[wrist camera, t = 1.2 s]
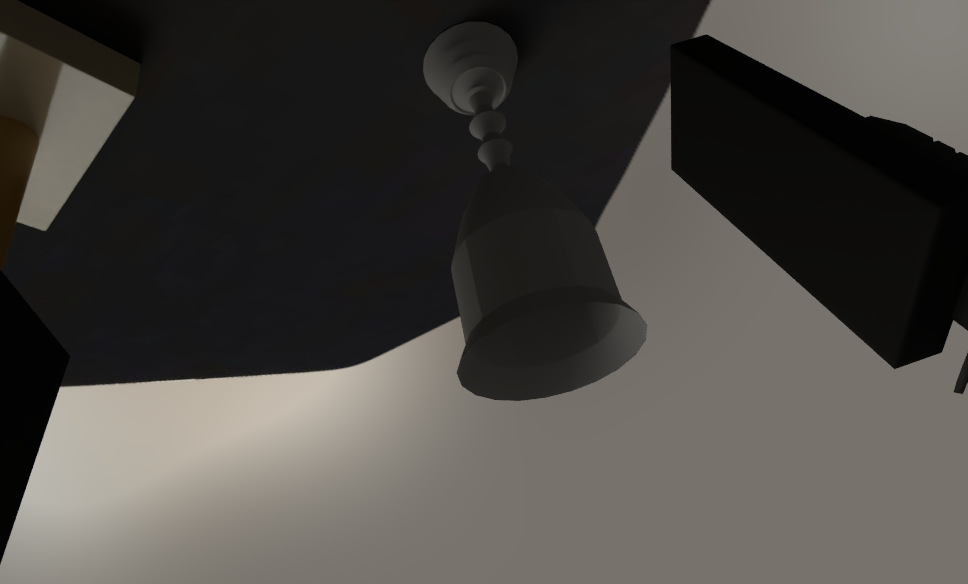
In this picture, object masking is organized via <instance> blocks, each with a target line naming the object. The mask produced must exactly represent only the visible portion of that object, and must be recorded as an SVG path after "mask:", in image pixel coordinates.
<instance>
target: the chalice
mask: <svg viewBox="0 0 968 584" xmlns="http://www.w3.org/2000/svg"><path fill="white" fill-rule="evenodd" d="M517 62H518V55H517V49H516V45H515V44H514V42H513V40H512V38H511V37H510V35H509V34H507V33H506V32H505V31H504V30H502V29H501V28H500V27H498V26H495V25H492V24H490V23H487V22H466V23H462V24H459V25H455V26H453V27H451V28H449V29H448V30H446V31H444V32H443V33H441V34H440V35H439V36H438V37H437V38H436V39H435V40H434V41H433V42H432V44H431V45H430V46H429V49H428V51H427V53H426V55H425V57H424V66H423V73H424V76H425V80H426V83H427V84H428V86H429V87H430V88H431V90H432V91H433V92H434V93H435V94H436V95H438V96H439V97H440V98H441V100H442V101H444V102H445V103H446V104H447V105H448V106H449V107H450V108H452V109H453V110H455V111H456V112H459V113H463V114H466V115H475V116H474V119H473V120H472V121H471V123H470V127H469V129H470V133H471V134H472V135H473V136H474V137H476V138H478V139H481V140H482V146H481V147H480V149H479V151H478V157H479V159H480V160H481V161H482V162H483V163H485V164H486V165H487V167H488V168H489V170H490V172H488V173H487V174H486V175H484V176H483V177H482V178H481V179H480V180H479V181H478V183H477V184H476V186H475V188H474V191H473V193H472V196H471V198H470V201H469V203H468V206H467V208H466V211H465V213H464V216H463V218H462V221H461V224H460V229H459V233H458V238H457V243H456V247H455V252H454V257H453V262H452V266H451V271H452V277H453V282H454V287H455V292H456V297H457V302H458V307H459V312H460V317H461V322H462V328H463V332H464V338H465V343H466V346H465V349H464V351H463V354H462V357H461V360H460V364H459V367H458V370H457V374H458V377H459V380H460V382H461V385H462V386H463V387H465V388H466V389H467V390H469V391H470V392H472V393H474V394H475V395H478V396H482V397H486V398H490V399H494V400H514V401H521V400H530V399H538V398H545V397H550V396H553V395H558V394H562V393H565V392H569V391H573V390H575V389H578V388H581V387H583V386H586V385H588V384H591V383H593V382H596V381H598V380H600V379H601V378H603V377H605V376H607V375H609V374H610V373H612V372H614V371H616V370H618V369H619V368H620V367H621V366H623V365H624V364H625V363H626V362H628V361H629V360H630V359H631V358H632V357H633V356H635V355H636V353H637V352H638V350H639V349H640V347H641V346H642V345H643V343H644V342H645V340H646V330H647V324H646V323H645V322H644V320H643V319H642V317H641V316H640V315H639V313H638V312H637V311H635V310H634V309H633V308H631V307H630V306H629V305H628V304H627V303H625V302H624V301H623V300H622V299H621V296H620V294H619V291H618V288H617V286H616V283H615V280H614V278H613V275H612V273H611V270H610V267H609V264H608V261H607V259H606V256H605V253H604V251H603V248H602V245H601V243H600V240H599V237H598V234H597V232H596V230H595V228H594V227H593V225H592V224H591V223H590V221H589V220H588V218H587V217H586V216H585V215H584V214H583V213H582V212H581V211H580V210H579V209H578V208H577V207H576V206H575V205H574V204H573V203H572V202H571V201H570V200H569V199H568V198H567V197H566V196H565V195H564V194H563V193H561V192H560V191H558V190H557V189H556V188H554V187H553V186H551V185H550V184H549V183H547V182H546V181H544V180H543V179H542V178H540V177H539V176H538V175H536V174H535V173H533V172H532V171H530V170H529V169H527V168H525V167H521V166H516V165H515V166H509V156H510V154H511V152H512V145H511V144H510V142H508V141H507V140H505V139H503V138H502V137H501V132H502V131H503V130H504V128H505V125H506V120H505V117H504V116H503V115H502V114H501V113H499V112H496V111H494V109H495V108H496V107H497V106H499V105H500V104H501V103H502V102H503V101H504V100H505V99H506V97H507V95H508V94H509V92H510V89H511V84H512V82H513V77H514V73H515V71H516V66H517Z"/></svg>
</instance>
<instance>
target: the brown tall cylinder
mask: <svg viewBox="0 0 968 584" xmlns="http://www.w3.org/2000/svg"><path fill="white" fill-rule="evenodd" d="M38 147H39V141H38V138H37V136H36V134H35V133H34V132H33V131H32V130H31V129H30V128H29V127H28V126H26V125H25V124H23V123H22V122H20V121H18V120H16V119H13V118H10V117H7V116H2V115H0V270H1V271H2V269H3V265H4V262H5V259H6V255H7V252H8V249H9V245H10V242H11V238H12V235H13V232H14V228H15V225H16V221H17V218H18V215H19V211H20V208H21V205H22V201H23V198H24V194H25V191H26V188H27V184H28V181H29V177H30V174H31V171H32V167H33V164H34V161H35V157H36V154H37V150H38Z"/></svg>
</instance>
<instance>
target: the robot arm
mask: <svg viewBox="0 0 968 584" xmlns="http://www.w3.org/2000/svg"><path fill="white" fill-rule="evenodd" d="M671 159H672V160H671V168H672V170H673V171H674V172H675V173H676V174H678V175H679V176H680V177H681V178H682V179H683V180H684V181H685V182H686V183H687V184H689V185H690V186H691V187H692V188H693V189H694V190H695V191H696V192H697V193H699V194H700V195H701V196H702V197H703V198H704V199H705V200H706V201H708V202H709V203H710V204H711V205H712V206H713V207H714V208H716V209H717V210H718V211H719V212H720V213H721V214H722V215H723V216H724V217H725V218H727V219H728V220H729V221H730V222H731V223H732V224H733V225H734V226H736V227H737V228H738V229H739V230H740V231H741V232H742V233H743V234H744V235H745V236H747V237H748V238H749V239H750V240H751V241H752V242H753V243H754V244H756V245H757V246H758V247H759V248H760V249H761V250H762V251H763V252H765V253H766V254H767V255H768V256H769V257H770V258H771V259H772V260H773V261H775V262H776V263H777V264H778V265H779V266H780V267H781V268H782V269H783V270H785V271H786V272H787V273H788V274H789V275H790V276H791V277H792V278H793V279H795V280H796V281H797V282H798V283H799V284H800V285H801V286H802V287H804V288H805V289H806V290H807V291H808V292H809V293H810V294H811V295H812V296H814V297H815V298H816V299H817V300H818V301H819V302H820V303H821V304H823V305H824V306H825V307H826V308H827V309H828V310H829V311H831V313H833V314H834V315H835V316H836V317H837V318H838V319H839V320H840V321H841V322H843V323H844V324H845V325H846V326H847V327H848V328H849V329H850V330H852V331H853V332H854V333H855V334H856V335H857V336H858V337H859V338H861V339H862V340H863V341H864V342H865V343H866V344H867V345H868V346H870V347H871V348H872V349H873V350H874V351H875V352H876V353H877V354H878V355H879V356H881V357H882V358H883V359H884V360H885V361H886V362H887V363H888V364H890V365H891V366H892V367H893V368H894V369H896V368H899V367H902V366H905V365H908V364H910V363H913V362H916V361H919V360H921V359H925V358H927V357H930V356H933V355H936V354H938V353H941V352H942V350H943V348H944V345H945V342H946V339H947V336H948V333H949V330H950V328H951V325H952V322H953V320H954V321H956V322H957V323H958V324H960V325H961V326H963V327H964V328H965V329H966V330H968V155H966V154H964V153H962V152H959V153H956V152H955V149H954V148H952V147H950V146H948V145H946V144H944V143H942V142H940V141H935V142H934V141H933V138H932V137H930V136H928V135H926V134H924V133H922V132H920V131H918V130H916V129H914V128H912V127H910V126H908V125H906V124H902V123H898V122H894V121H890V120H886V119H882V118H878V117H873V116H869V117H866V118H865V117H863V116H861V115H859V114H857V113H855V112H853V111H852V110H850V109H848V108H846V107H844V106H842V105H840V104H838V103H836V102H834V101H832V100H831V99H829V98H827V97H825V96H823V95H821V94H819V93H817V92H815V91H813V90H811V89H809V88H808V87H806V86H803V85H802V84H800V83H798V82H796V81H794V80H792V79H791V78H789V77H787V76H785V75H783V74H781V73H779V72H777V71H775V70H773V69H772V68H770V67H768V66H766V65H764V64H762V63H760V62H758V61H756V60H754V59H752V58H750V57H749V56H747V55H745V54H743V53H741V52H739V51H737V50H735V49H733V48H732V47H730V46H728V45H725V44H724V43H722V42H720V41H718V40H716V39H714V38H713V37H711V36H709V35H703V36H700V37H696V38H693V39H689V40H686V41H682V42H679V43H675V44H672V45H671ZM69 358H70V355H69V354H68V353H67V352H66V351H65V349H64V348H63V347H62V346H61V344H60V343H59V342H58V341H57V339H56V338H55V337H54V336H53V334H52V333H51V332H50V331H49V329H48V328H47V327H46V326H45V324H44V323H43V322H42V321H41V320H40V318H39V317H38V316H37V315H36V313H35V312H34V311H33V310H32V308H31V307H30V306H29V305H28V303H27V302H26V301H25V300H24V298H23V297H22V296H21V295H20V293H19V292H18V291H17V290H16V289H15V287H14V286H13V285H12V284H11V282H10V281H9V280H8V279H7V277H6V276H5V275H4V274H3V272H2V271H1V270H0V564H1V560H2V558H3V555H4V551H5V549H6V546H7V542H8V540H9V537H10V534H11V531H12V528H13V525H14V522H15V519H16V516H17V513H18V510H19V507H20V504H21V501H22V498H23V495H24V492H25V489H26V486H27V483H28V480H29V477H30V474H31V471H32V468H33V465H34V462H35V459H36V456H37V454H38V451H39V448H40V445H41V441H42V438H43V436H44V432H45V430H46V427H47V424H48V421H49V418H50V415H51V412H52V409H53V406H54V403H55V400H56V397H57V393H58V391H59V388H60V385H61V382H62V379H63V376H64V373H65V370H66V367H67V364H68V361H69ZM967 383H968V353H967V356H966V359H965V361H964V364H963V366H962V369H961V372H960V374H959V377H958V379H957V382H956V386H955V389H954V392H955V393H961V394H963V392H964V390H965V387H966V385H967Z"/></svg>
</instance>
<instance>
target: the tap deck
mask: <svg viewBox="0 0 968 584" xmlns="http://www.w3.org/2000/svg"><path fill="white" fill-rule="evenodd" d="M140 69H141V64H140V63H138V62H136V61H134V60H132V59H130V58H128V57H126V56H124V55H122V54H121V53H119V52H117V51H115V50H113V49H111V48H109V47H107V46H105V45H103V44H101V43H99V42H97V41H95V40H94V39H92V38H90V37H88V36H86V35H84V34H82V33H80V32H78V31H76V30H74V29H72V28H70V27H68V26H67V25H65V24H63V23H61V22H59V21H57V20H55V19H53V18H51V17H49V16H47V15H45V14H43V13H41V12H40V11H38V10H36V9H34V8H32V7H30V6H28V5H26V4H24V3H22V2H20V1H18V0H0V115H2V116H7V117H10V118H13V119H16V120H18V121H20V122H22V123H23V124H25V125H26V126H28V127H29V128H30V129H31V130H32V131H33V132H34V133H35V134H36V136H37V138H38V141H39V147H38V150H37V154H36V157H35V161H34V164H33V167H32V171H31V174H30V177H29V181H28V184H27V188H26V191H25V194H24V198H23V201H22V205H21V208H20V211H19V215H18V218H17V221H16V222H19V223H22V224H25V225H28V226H31V227H34V228H37V229H40V230H43V231H46V230H47V229H48V227H49V226H50V224H51V223H52V221H53V220H54V218H55V217H56V215H57V214H58V212H59V211H60V209H61V208H62V206H63V205H64V203H65V202H66V200H67V199H68V197H69V196H70V194H71V193H72V191H73V190H74V188H75V187H76V185H77V184H78V182H79V181H80V179H81V178H82V176H83V175H84V173H85V172H86V170H87V169H88V167H89V166H90V164H91V163H92V161H93V160H94V158H95V157H96V155H97V154H98V152H99V151H100V149H101V148H102V146H103V145H104V143H105V142H106V140H107V139H108V137H109V136H110V134H111V133H112V131H113V130H114V128H115V127H116V125H117V124H118V122H119V121H120V119H121V118H122V116H123V115H124V113H125V112H126V110H127V109H128V107H129V106H130V104H131V103H132V101H133V100H134V98H135V96H136V91H137V86H138V80H139V75H140Z"/></svg>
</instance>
